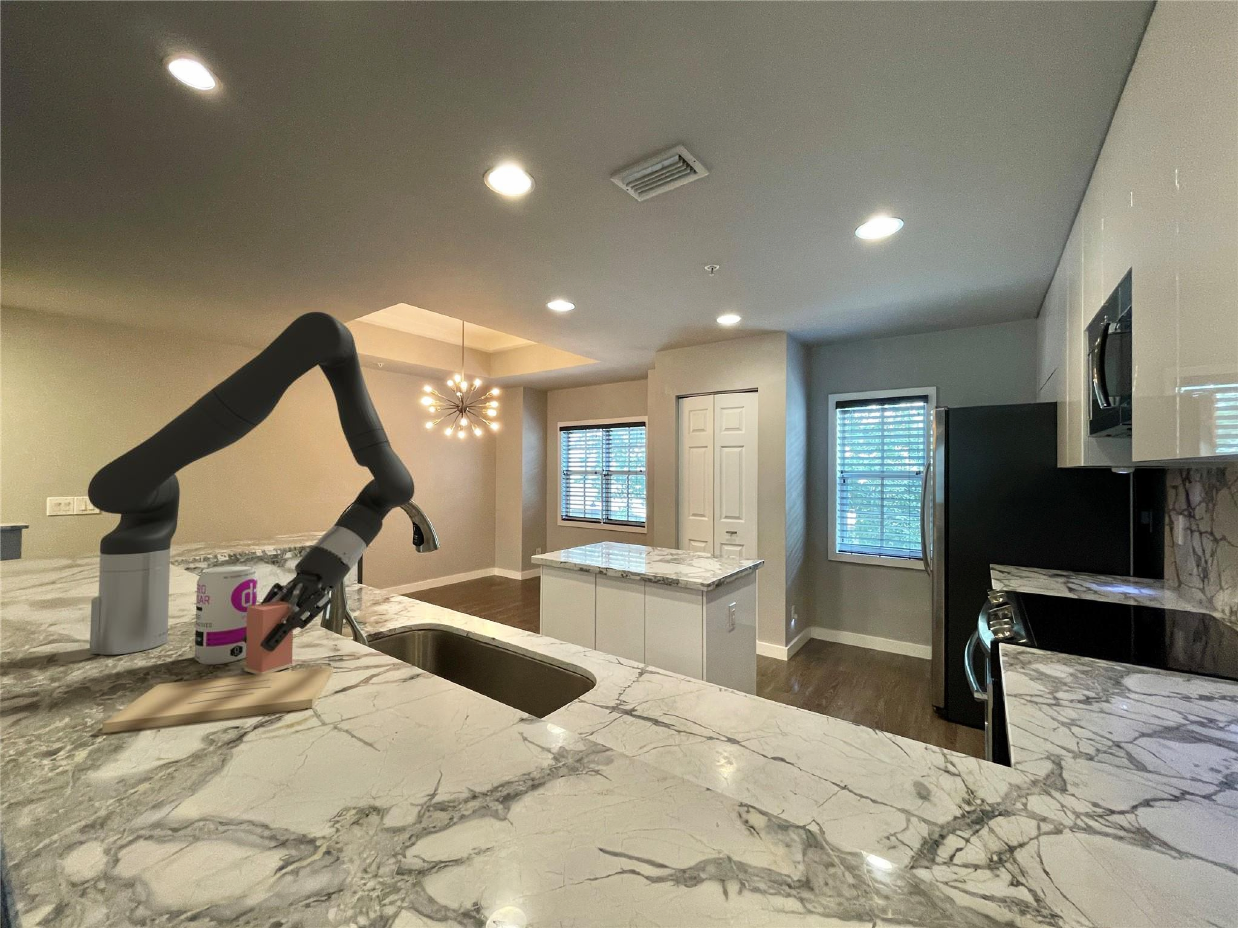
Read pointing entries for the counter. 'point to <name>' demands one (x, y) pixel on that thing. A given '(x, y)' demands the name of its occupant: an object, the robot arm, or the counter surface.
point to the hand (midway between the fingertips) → (256, 645)
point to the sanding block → (258, 628)
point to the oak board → (221, 699)
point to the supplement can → (223, 612)
